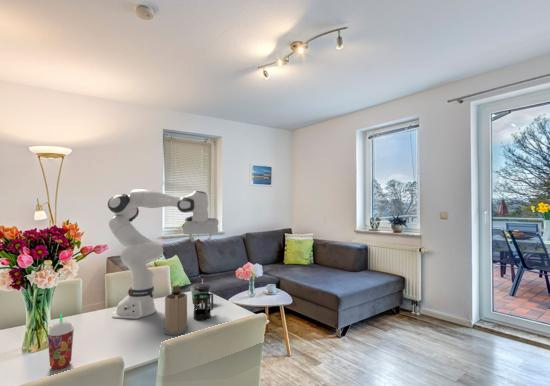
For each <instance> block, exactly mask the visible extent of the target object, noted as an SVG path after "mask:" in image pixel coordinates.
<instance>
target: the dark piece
mask: <svg viewBox="0 0 550 386" xmlns="http://www.w3.org/2000/svg"><path fill="white" fill-rule="evenodd" d="M189 290H190V292H191V299H192V304H193V305H194V295H195V294H199V293H201V292H199V291H198V290H195V288H194V286H192V285H191V286H190V289H189ZM203 293H209V294H210V291H208V292H203ZM206 297H208V296H206V295H203V298H206ZM196 298H197V297H196ZM200 298H202V295H201V296H200ZM200 303H202V301H200ZM203 303H205V300H203ZM196 304H197V300H196Z"/></svg>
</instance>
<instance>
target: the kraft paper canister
mask: <svg viewBox="0 0 550 386" xmlns="http://www.w3.org/2000/svg"><path fill="white" fill-rule="evenodd" d="M188 326H189V325H188V294H187V293H184V292H180V294H178V295H177V299H175V295H173V294H172V293H170V294H167V295H166V296H165V297H164V329H163V333H164V334H165V336H169V337H177V336H181V335H185V333H188V330H189V327H188Z"/></svg>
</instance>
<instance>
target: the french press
mask: <svg viewBox="0 0 550 386" xmlns="http://www.w3.org/2000/svg"><path fill="white" fill-rule="evenodd" d="M204 277H207V274H200V275H198V278H201V283H200V284H196V285H194V286H193V287H194V288H195V290H198V291H199V292H201V293H199V294H195V295H194V304H193V318H192V319H193V320H194V321H196V322H203V321H204V322H205V321H207V320H210V319H211V318H212V315H211V314H212V313H211V312H212V311H213V310H214V293H212V292H210V291H211V285H210V284H208V283H207V284H206V283H205V284H204V282H203V281H204ZM208 291H209V293H203V292H208ZM201 295H202V298H200V296H201ZM203 295H206V296H208V297H206V298H203ZM196 297H197V298H196ZM196 300H197V304H196ZM203 300H205V303H203ZM200 301H202V303H200Z"/></svg>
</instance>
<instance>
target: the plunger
mask: <svg viewBox="0 0 550 386" xmlns="http://www.w3.org/2000/svg"><path fill="white" fill-rule="evenodd" d="M180 293H181V285H179V284H175V285H172V293H171V294H173V295H175V299H177V295H178V294H180Z"/></svg>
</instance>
